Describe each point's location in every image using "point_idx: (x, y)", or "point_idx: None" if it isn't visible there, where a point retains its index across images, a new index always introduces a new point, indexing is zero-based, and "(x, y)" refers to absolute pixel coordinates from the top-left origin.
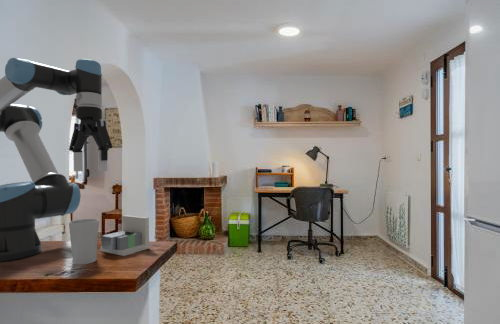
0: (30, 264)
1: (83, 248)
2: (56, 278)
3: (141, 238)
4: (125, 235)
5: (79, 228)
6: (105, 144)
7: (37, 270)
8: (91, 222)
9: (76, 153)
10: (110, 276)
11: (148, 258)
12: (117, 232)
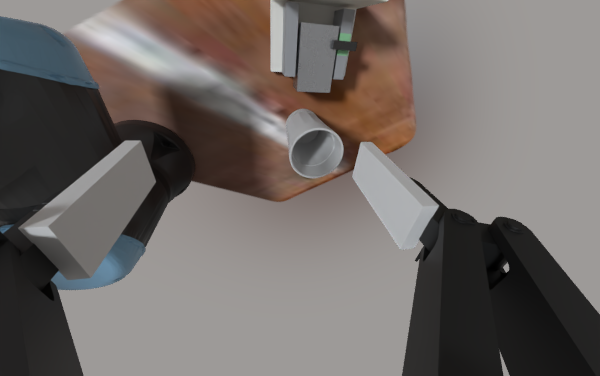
0: (242, 169)
1: (320, 145)
2: (330, 177)
3: (348, 5)
4: (337, 55)
5: (327, 167)
6: (498, 272)
7: (280, 175)
8: (342, 155)
9: (90, 259)
10: (384, 147)
11: (393, 65)
12: (301, 44)
